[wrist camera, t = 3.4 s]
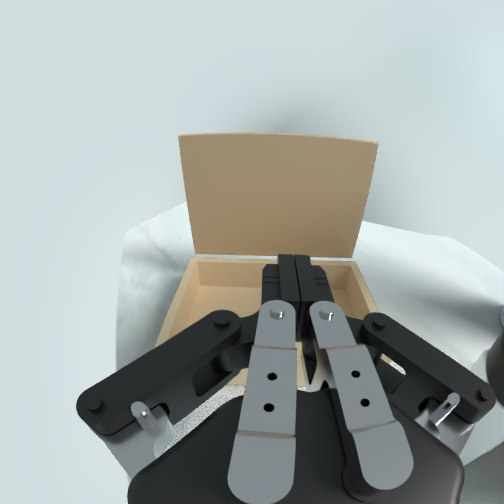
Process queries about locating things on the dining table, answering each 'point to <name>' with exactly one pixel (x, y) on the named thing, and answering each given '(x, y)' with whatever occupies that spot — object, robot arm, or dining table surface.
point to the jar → (500, 416)
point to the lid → (276, 192)
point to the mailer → (253, 295)
